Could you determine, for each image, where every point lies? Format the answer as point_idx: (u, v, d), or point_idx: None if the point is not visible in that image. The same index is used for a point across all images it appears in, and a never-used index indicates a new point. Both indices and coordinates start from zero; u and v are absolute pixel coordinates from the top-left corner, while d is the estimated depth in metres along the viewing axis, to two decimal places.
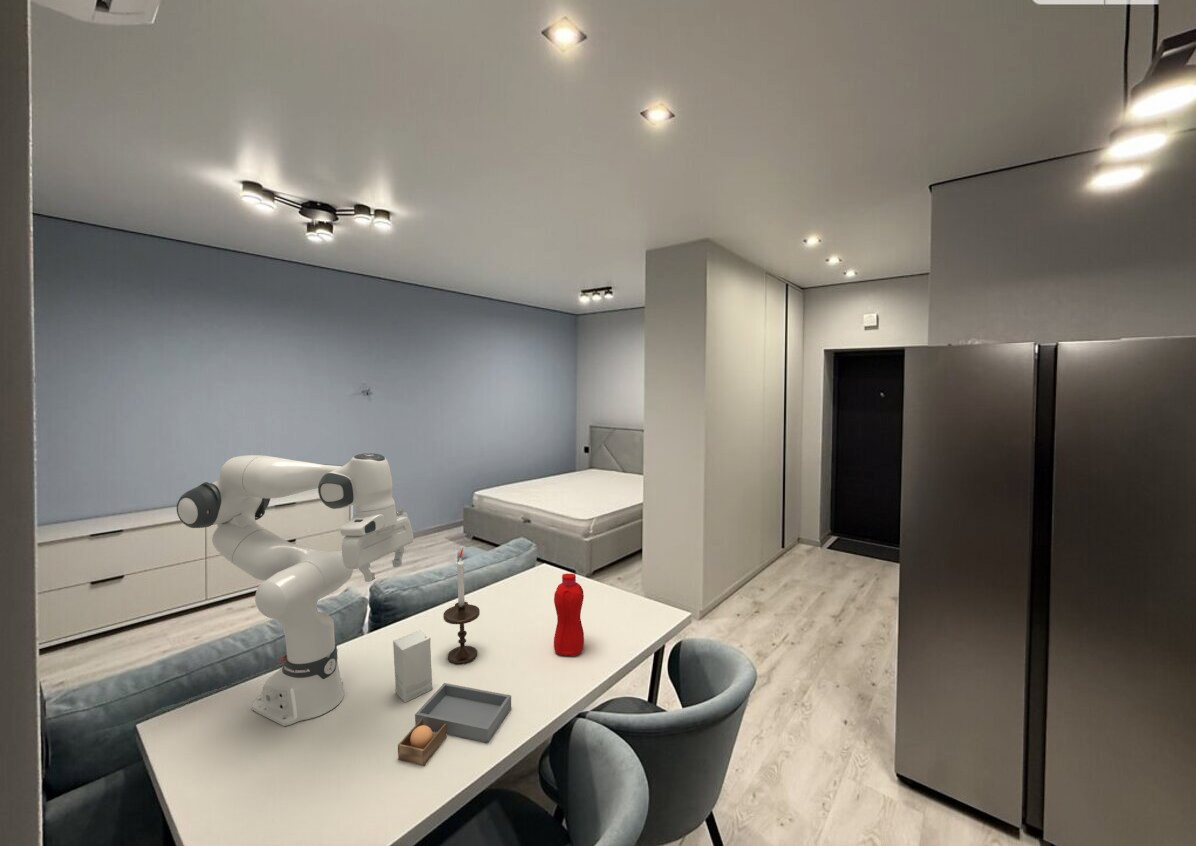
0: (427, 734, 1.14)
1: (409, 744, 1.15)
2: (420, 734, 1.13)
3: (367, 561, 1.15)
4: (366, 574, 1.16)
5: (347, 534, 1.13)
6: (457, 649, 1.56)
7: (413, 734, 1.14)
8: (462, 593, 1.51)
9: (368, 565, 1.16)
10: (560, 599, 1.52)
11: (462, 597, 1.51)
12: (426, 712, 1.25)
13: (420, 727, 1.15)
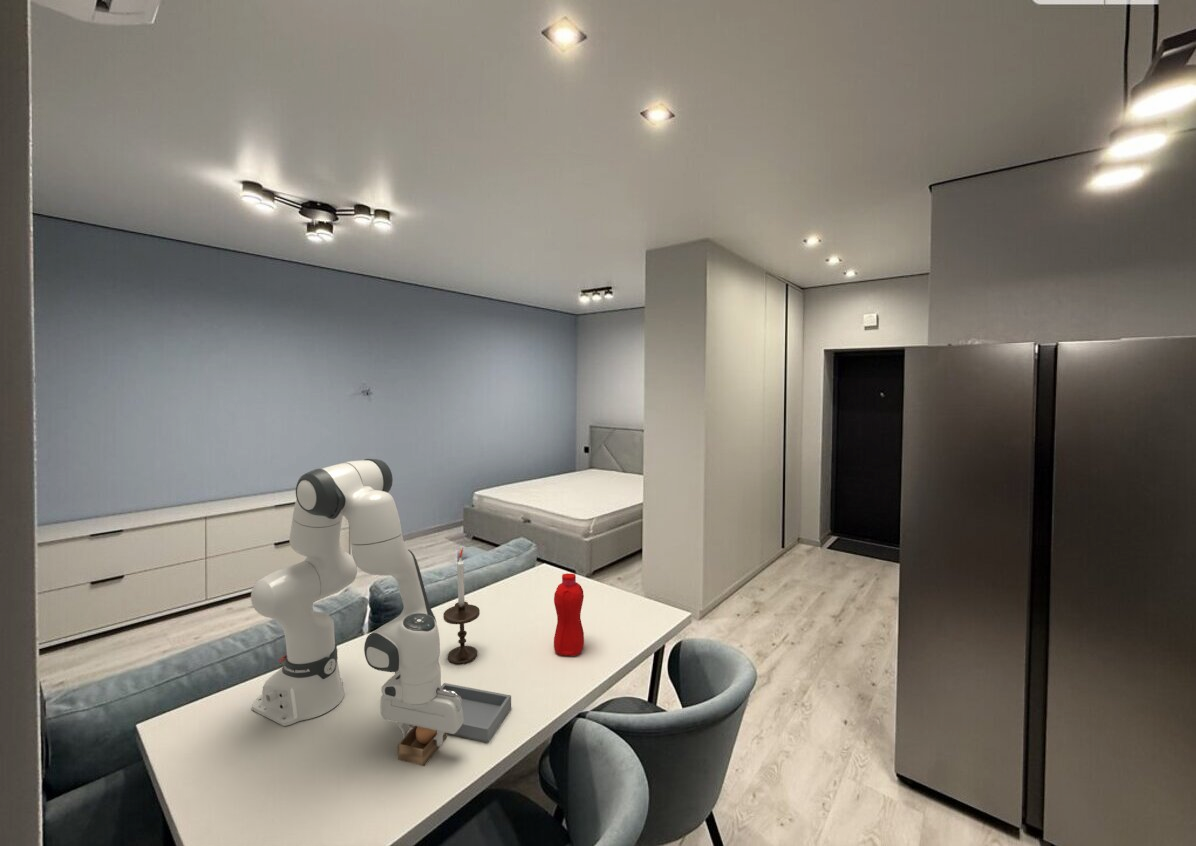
0: None
1: (409, 744, 1.15)
2: None
3: (393, 719, 1.15)
4: None
5: None
6: (457, 649, 1.56)
7: None
8: (462, 593, 1.51)
9: (400, 723, 1.15)
10: (560, 599, 1.52)
11: (462, 597, 1.51)
12: None
13: None
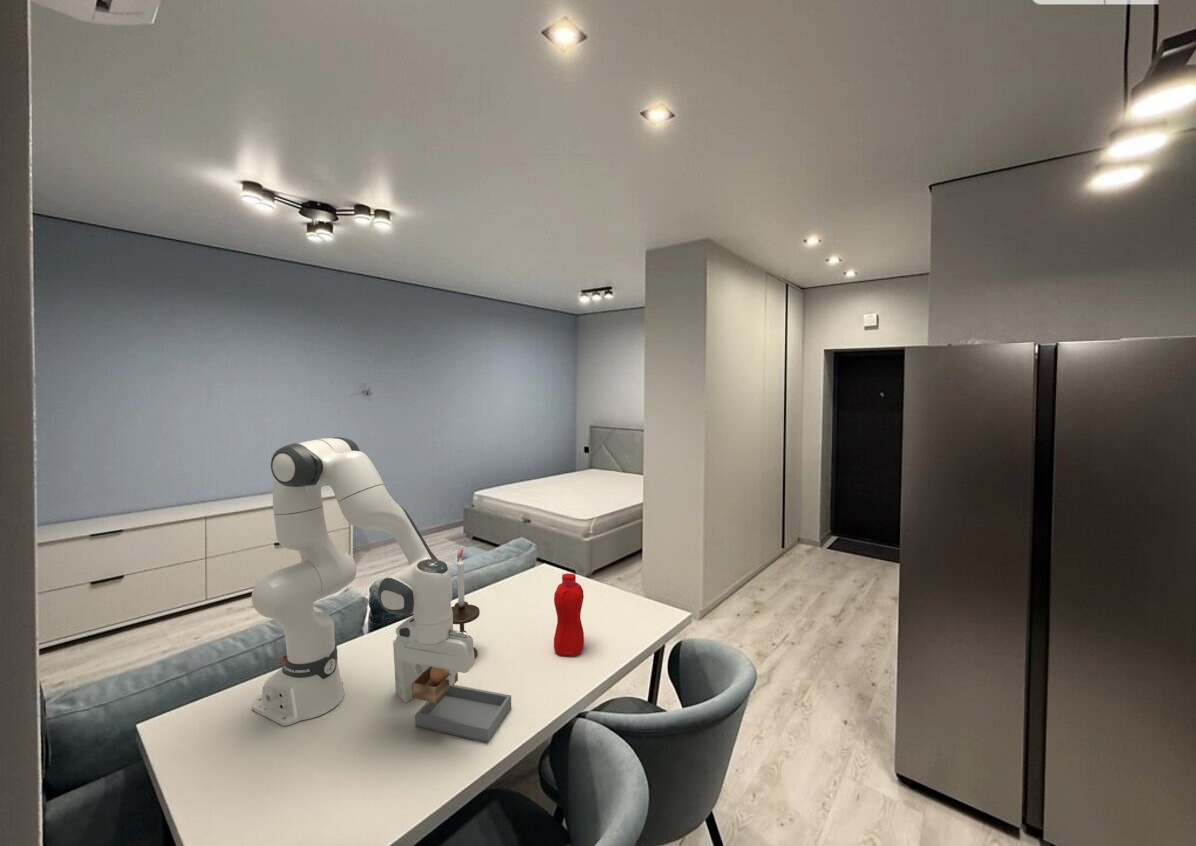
0: None
1: (422, 685, 1.20)
2: None
3: (407, 660, 1.19)
4: None
5: None
6: None
7: None
8: (462, 593, 1.51)
9: (414, 664, 1.20)
10: (560, 599, 1.52)
11: (462, 597, 1.51)
12: (426, 712, 1.25)
13: None
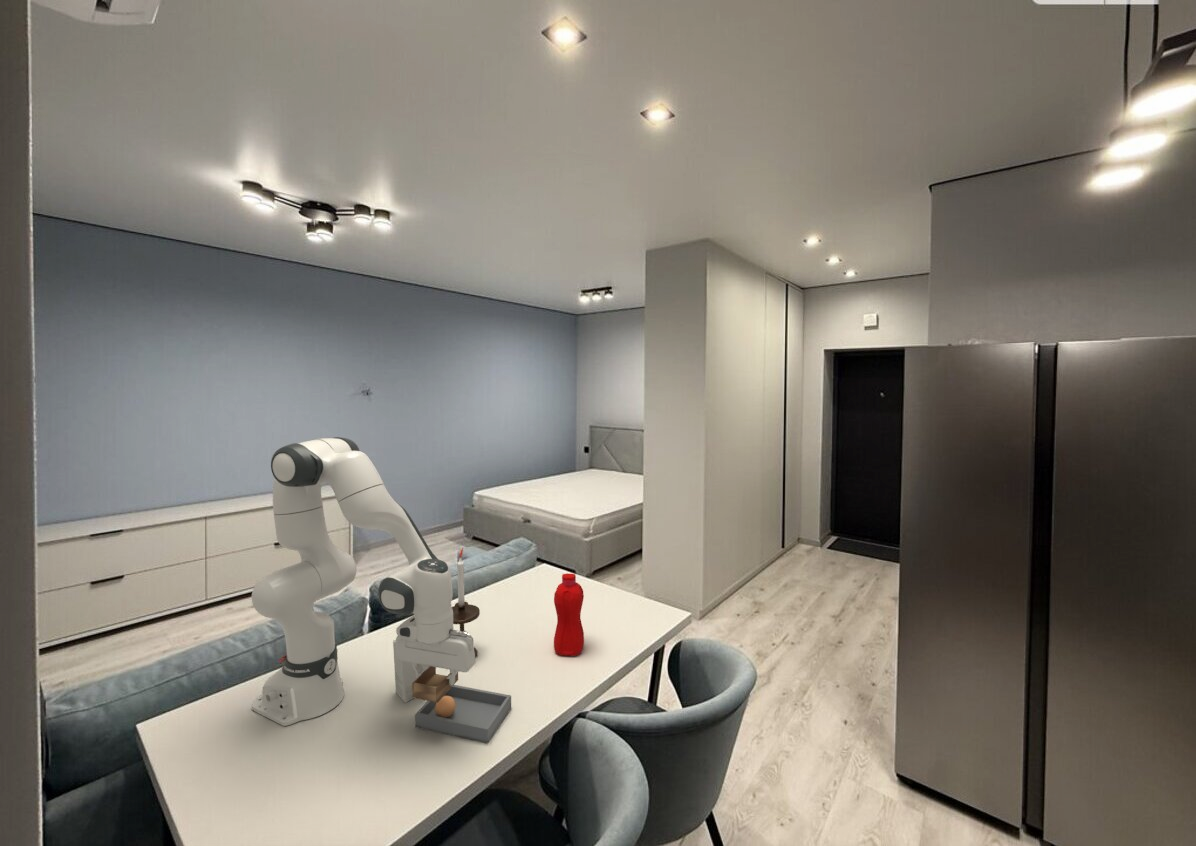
0: None
1: None
2: None
3: (407, 659, 1.19)
4: None
5: None
6: None
7: None
8: (462, 593, 1.51)
9: (414, 664, 1.20)
10: (560, 599, 1.52)
11: (462, 597, 1.51)
12: (426, 712, 1.25)
13: None
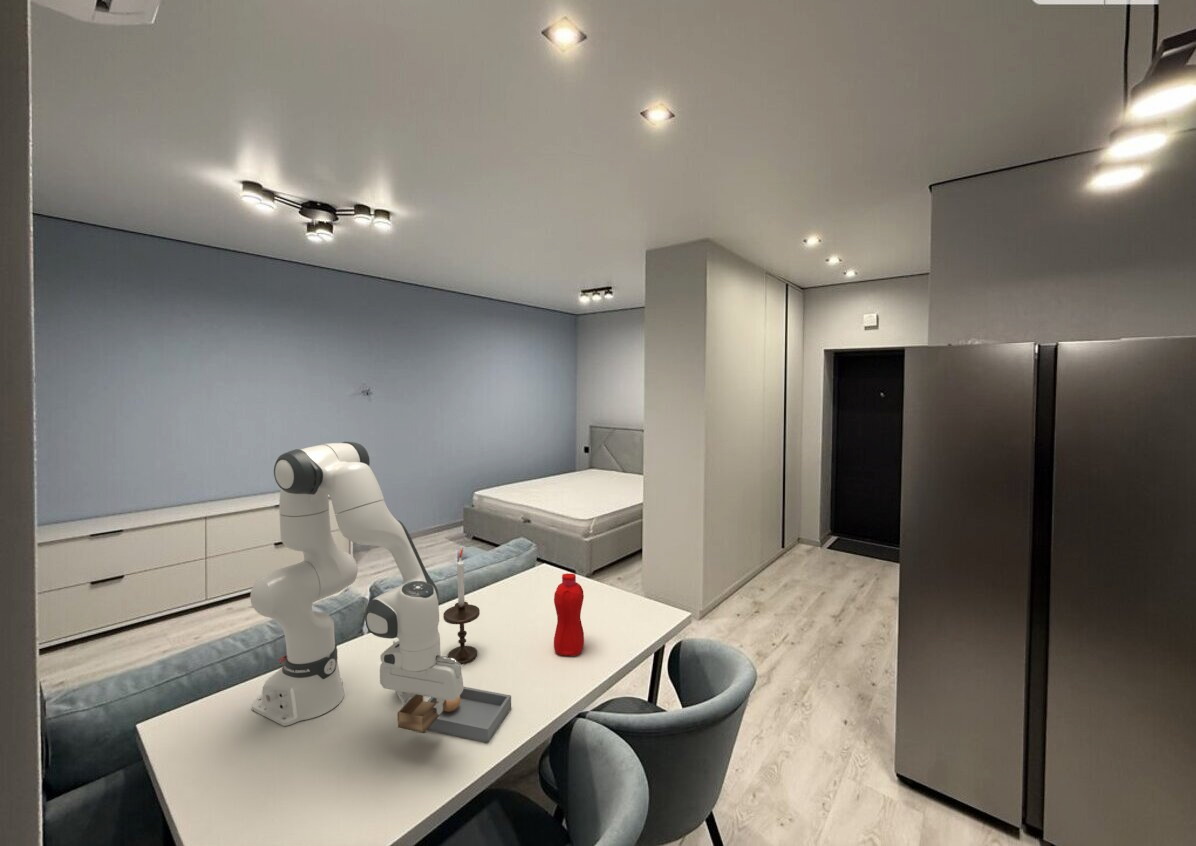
0: (457, 706, 1.28)
1: (409, 713, 1.14)
2: None
3: (392, 687, 1.14)
4: None
5: None
6: (457, 649, 1.56)
7: None
8: (462, 593, 1.51)
9: (400, 692, 1.14)
10: (560, 599, 1.52)
11: (462, 597, 1.51)
12: None
13: None
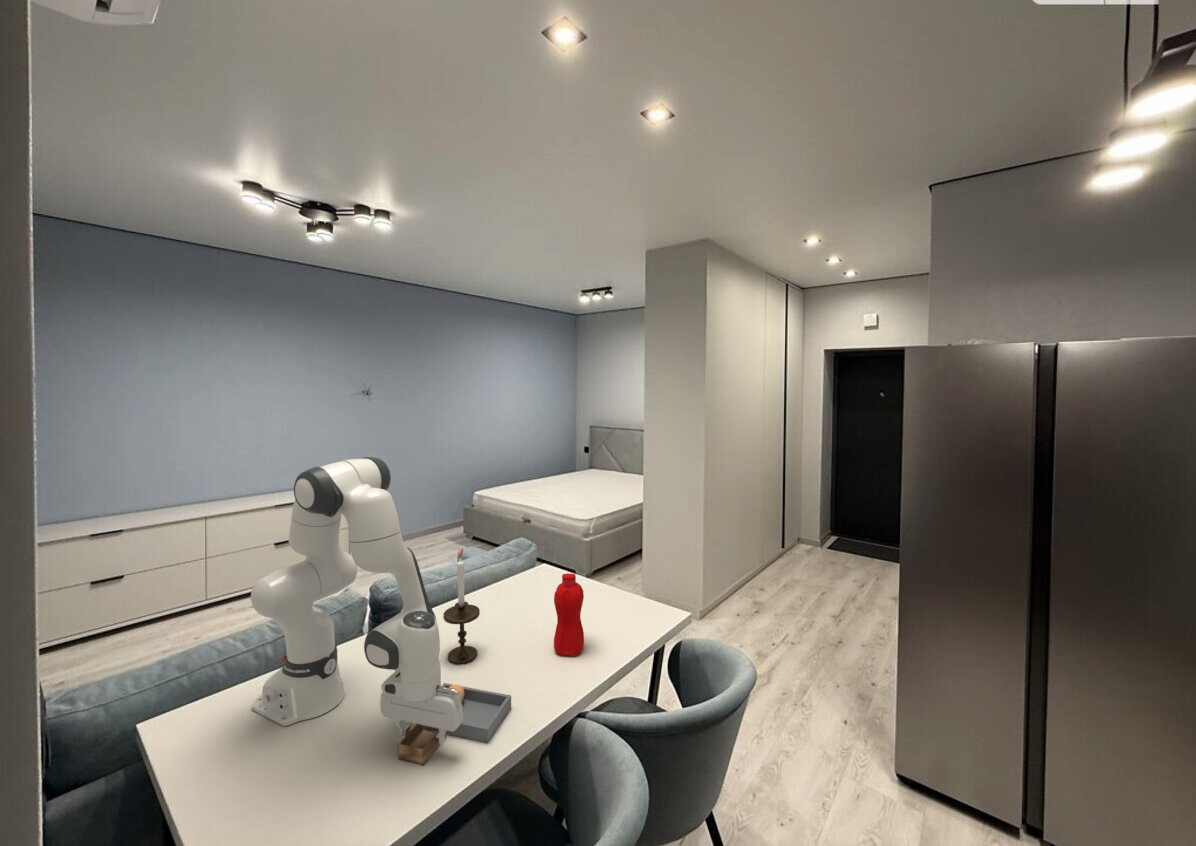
0: None
1: (409, 744, 1.15)
2: None
3: (393, 716, 1.15)
4: None
5: None
6: (457, 649, 1.56)
7: None
8: (462, 593, 1.51)
9: (398, 720, 1.15)
10: (560, 599, 1.52)
11: (462, 597, 1.51)
12: None
13: None
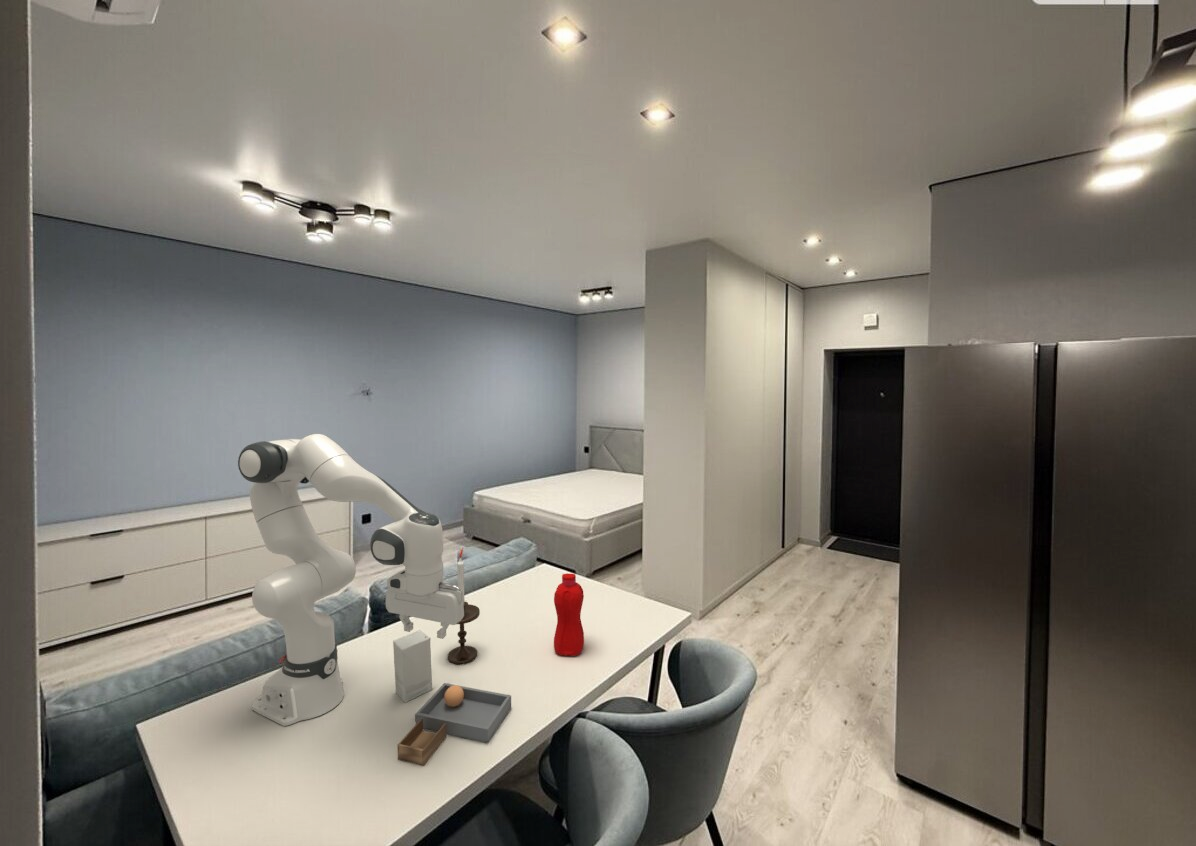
0: None
1: (409, 744, 1.15)
2: None
3: (397, 611, 1.20)
4: None
5: None
6: (457, 649, 1.56)
7: None
8: None
9: (402, 616, 1.21)
10: (560, 599, 1.52)
11: None
12: (426, 712, 1.25)
13: (449, 705, 1.28)
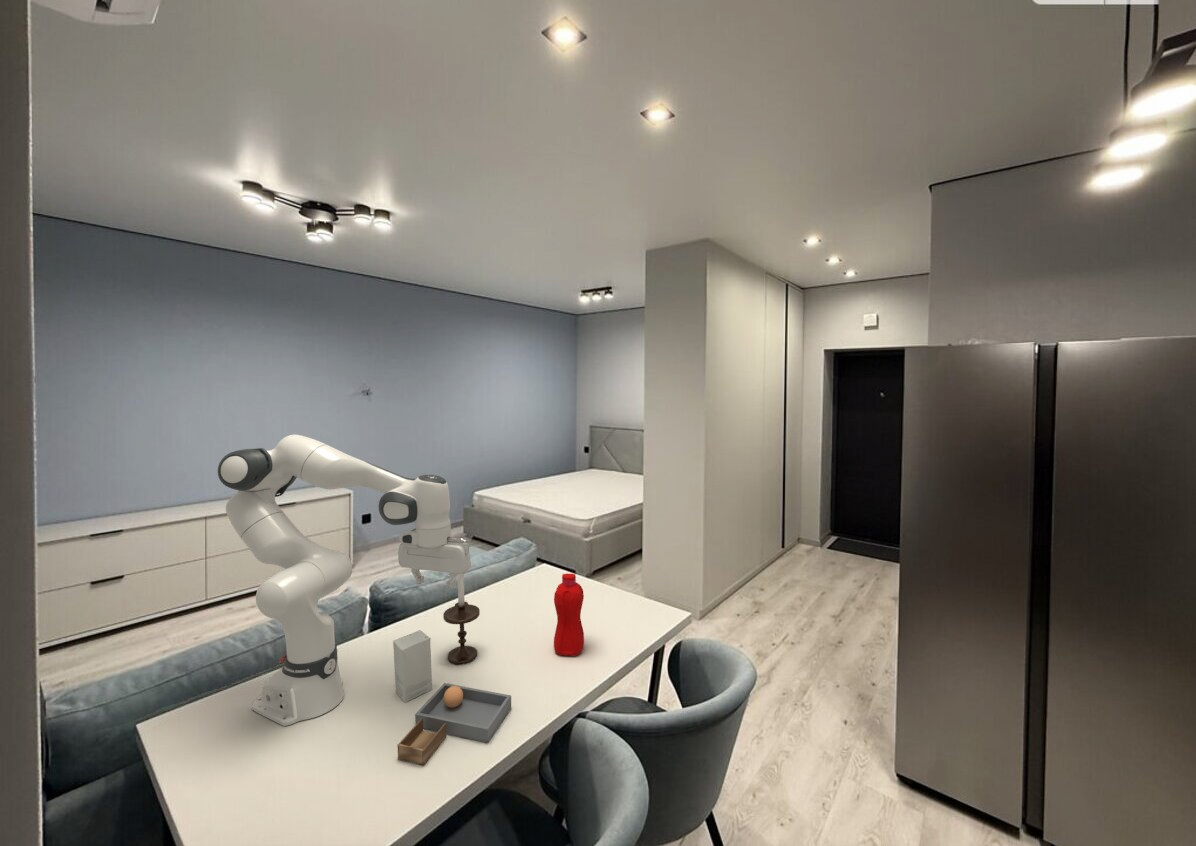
0: (458, 704, 1.28)
1: (409, 744, 1.15)
2: None
3: (409, 565, 1.32)
4: None
5: None
6: (457, 649, 1.56)
7: None
8: (462, 593, 1.51)
9: (414, 569, 1.32)
10: (560, 599, 1.52)
11: (462, 597, 1.51)
12: (426, 712, 1.25)
13: None
